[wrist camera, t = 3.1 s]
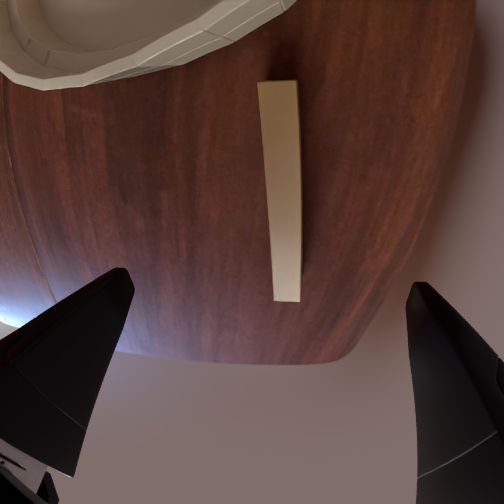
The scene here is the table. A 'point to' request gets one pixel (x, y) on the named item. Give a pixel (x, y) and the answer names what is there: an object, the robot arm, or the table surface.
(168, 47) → the bowl
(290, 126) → the long tan beam
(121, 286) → the robot arm
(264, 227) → the table surface
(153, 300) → the table surface
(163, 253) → the table surface
